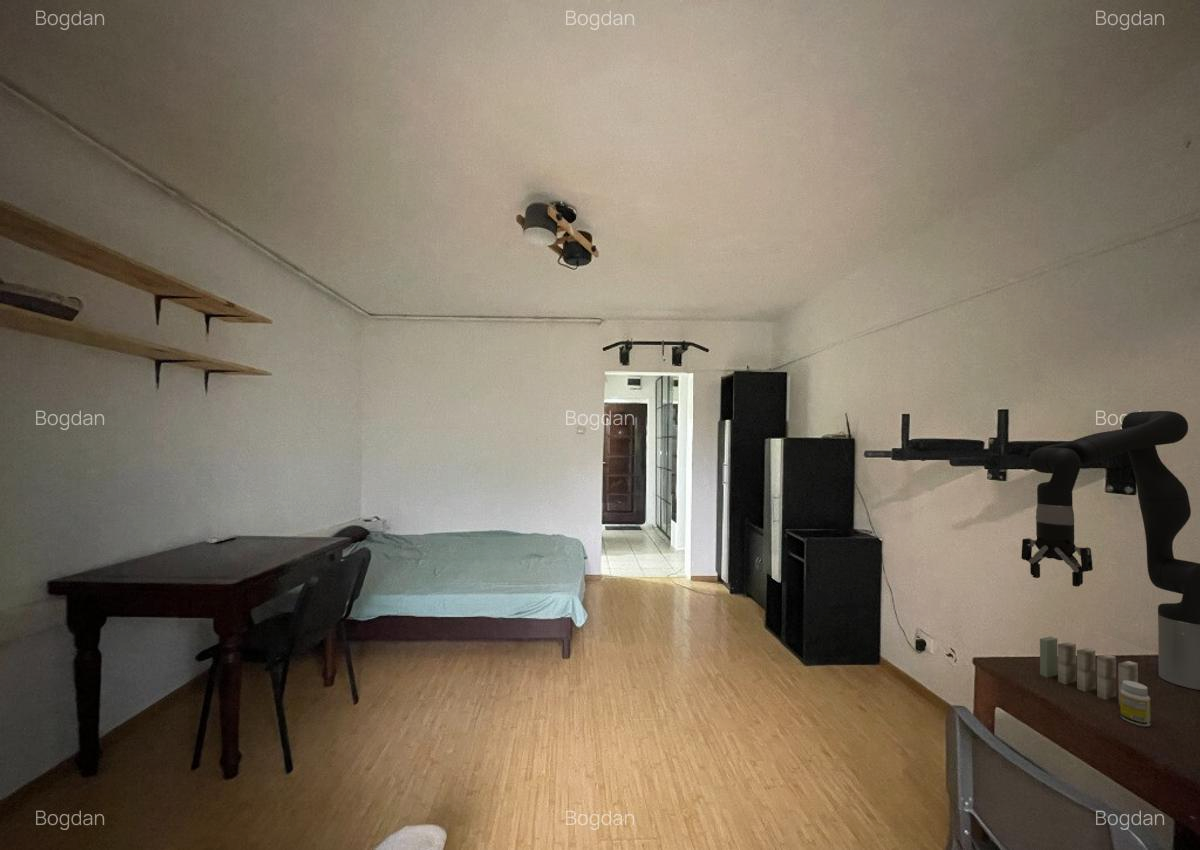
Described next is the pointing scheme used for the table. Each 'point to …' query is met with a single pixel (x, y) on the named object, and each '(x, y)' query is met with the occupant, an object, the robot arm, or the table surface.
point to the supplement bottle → (1135, 703)
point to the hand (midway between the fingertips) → (1055, 581)
